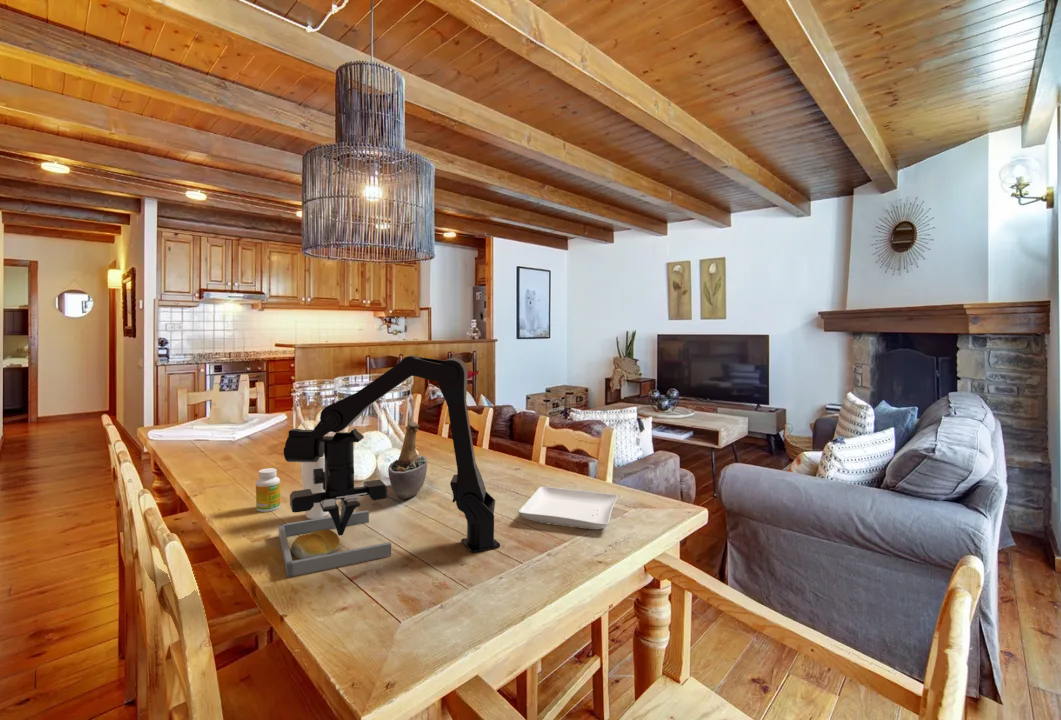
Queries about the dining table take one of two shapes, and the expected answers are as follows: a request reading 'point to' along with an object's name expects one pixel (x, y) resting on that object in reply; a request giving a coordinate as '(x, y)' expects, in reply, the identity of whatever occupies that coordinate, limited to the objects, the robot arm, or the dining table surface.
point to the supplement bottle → (267, 490)
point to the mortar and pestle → (408, 466)
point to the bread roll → (315, 544)
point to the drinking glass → (313, 486)
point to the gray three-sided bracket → (329, 559)
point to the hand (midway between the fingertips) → (340, 534)
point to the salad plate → (569, 507)
